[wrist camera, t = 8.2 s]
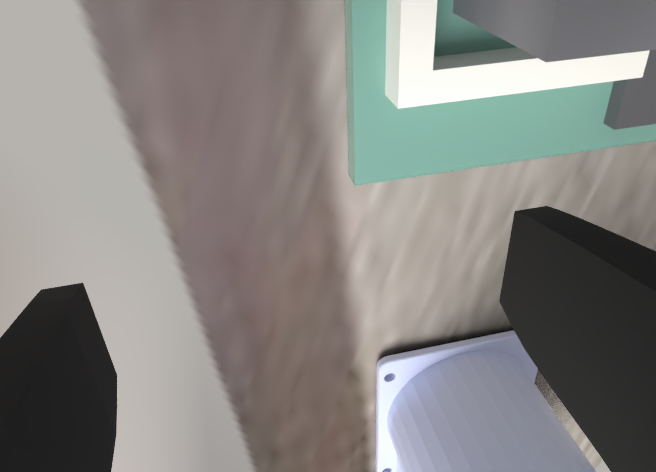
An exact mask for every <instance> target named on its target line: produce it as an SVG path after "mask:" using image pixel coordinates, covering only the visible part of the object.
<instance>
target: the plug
mask: <svg viewBox="0 0 656 472" xmlns="http://www.w3.org/2000/svg"><path fill="white" fill-rule="evenodd" d="M453 13H454V14H456V15H458V16H460V17H461V18H463V19H465V20H467V21H469V22H471V23H473V24H475V25H477V26H478V27H480V28H482V29H484V30H486V31H488V32H490V33H492V34H493V35H495V36H497V37H499V38H501V39H503V40H505V41H507V42H508V43H510V44H512V45H514V46H516V47H518V48H520V49H522V50H524V51H525V52H527V53H529V54H531V55H533V56H535V57H537V58H539V59H540V60H542V61H544V62H554V61H563V60H571V59H580V58H588V57H597V56H606V55H614V54H623V53H631V52H640V51H648V50H656V0H454V2H453Z"/></svg>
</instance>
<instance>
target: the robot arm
mask: <svg viewBox="0 0 656 472" xmlns="http://www.w3.org/2000/svg"><path fill="white" fill-rule="evenodd" d="M500 303H501V305H502V307H503V309H504V311H505V313H506V315H507V317H508V319H509V321H510V323H511V325H512V327H513V329H514V330H512V331H507V332H502V333H497V334H492V335H488V336H483V337H478V338H473V339H468V340H463V341H458V342H453V343H448V344H443V345H438V346H433V347H429V348H424V349H419V350H414V351H409V352H404V353H399V354H394V355H389V356H386V357H383V358H382V359H380V360H379V362H378V363H377V381H376V469H375V472H596V471H595V470H594V468H593V467H592V465H591V464H590V462H589V461H588V459H587V458H586V457H585V455H584V454H583V452H582V451H581V449H580V448H579V447H578V445H577V444H576V442H575V441H574V439H573V438H572V436H571V435H570V434H569V432H568V431H567V429H566V428H565V426H564V425H563V424H562V422H561V421H560V419H559V418H558V416H557V415H556V413H555V412H554V411H553V409H552V408H551V406H550V405H549V403H548V402H547V401H546V399H545V398H544V396H543V395H542V393H541V392H540V391H539V389H538V388H537V386H536V385H535V379H536V375H537V371H538V369H539V371H540V372H541V374H542V375H543V376H544V378H545V379H546V381H547V382H548V384H549V385H550V386H551V388H552V389H553V391H554V392H555V393H556V395H557V396H558V397H559V399H560V400H561V402H562V403H563V404H564V406H565V407H566V409H567V410H568V411H569V413H570V414H571V415H572V417H573V418H574V420H575V421H576V422H577V424H578V425H579V427H580V428H581V429H582V431H583V432H584V434H585V435H586V436H587V438H588V439H589V440H590V442H591V443H592V445H593V446H594V447H595V449H596V450H597V452H598V453H599V454H600V456H601V457H602V459H603V460H604V462H605V463H606V465H607V466H608V468H609V469H610V471H611V472H656V251H654V250H651V249H649V248H647V247H644V246H642V245H640V244H638V243H635V242H633V241H631V240H628V239H626V238H624V237H622V236H619V235H617V234H615V233H613V232H610V231H608V230H606V229H604V228H601V227H599V226H597V225H594V224H592V223H590V222H587V221H585V220H583V219H580V218H578V217H575V216H573V215H570V214H568V213H565V212H563V211H560V210H557V209H554V208H551V207H548V206H544V207H538V208H532V209H526V210H520V211H515V214H514V219H513V225H512V231H511V237H510V243H509V248H508V254H507V260H506V266H505V272H504V277H503V283H502V289H501V295H500ZM387 374H388V375H387ZM116 416H117V374H116V371H115V369H114V366H113V363H112V360H111V358H110V355H109V352H108V350H107V347H106V344H105V341H104V339H103V336H102V333H101V330H100V328H99V325H98V322H97V320H96V317H95V314H94V311H93V309H92V306H91V303H90V301H89V298H88V295H87V293H86V290H85V287H84V284H83V283H79V284H73V285H68V286H61V287H55V288H49V289H43V290H41V291H40V292H39V293H38V294H37V295H36V296H35V297H34V298H33V300H32V301H31V302H30V303H29V304H28V305H27V307H26V308H25V309H24V310H23V312H22V313H21V314H20V315H19V316H18V317H17V319H16V320H15V321H14V322H13V323H12V325H11V326H10V327H9V329H7V331H6V332H5V333H4V334H3V335H2V337H1V338H0V472H111V468H112V461H113V454H114V446H115V438H116V418H117V417H116Z"/></svg>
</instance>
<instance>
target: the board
mask: <svg viewBox="0 0 656 472" xmlns="http://www.w3.org/2000/svg"><path fill="white" fill-rule="evenodd" d="M453 2H454V0H345V26H346V70H347V114H348V159H349V176H350V178H351V179H352V181H353V183H354V185H355V186H356V185H362V184H369V183H376V182H382V181H389V180H396V179H402V178H409V177H416V176H422V175H429V174H436V173H442V172H449V171H456V170H463V169H469V168H476V167H483V166H489V165H496V164H503V163H509V162H516V161H523V160H529V159H536V158H543V157H549V156H556V155H563V154H569V153H576V152H583V151H589V150H596V149H603V148H609V147H616V146H623V145H629V144H636V143H643V142H649V141H656V50H648V51H640V52H631V53H623V54H614V55H606V56H597V57H588V58H580V59H571V60H563V61H554V62H544V61H542V60H540V59H539V58H537V57H535V56H533V55H531V54H529V53H527V52H525V51H524V50H522V49H520V48H518V47H516V46H514V45H512V44H510V43H508V42H507V41H505V40H503V39H501V38H499V37H497V36H495V35H493V34H492V33H490V32H488V31H486V30H484V29H482V28H480V27H478V26H477V25H475V24H473V23H471V22H469V21H467V20H465V19H463V18H461V17H460V16H458V15H456V14H454V13H453Z"/></svg>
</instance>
